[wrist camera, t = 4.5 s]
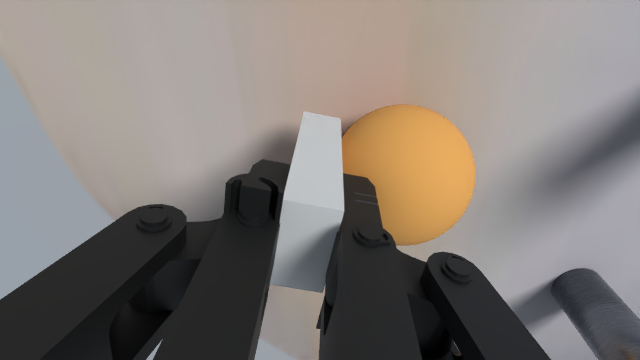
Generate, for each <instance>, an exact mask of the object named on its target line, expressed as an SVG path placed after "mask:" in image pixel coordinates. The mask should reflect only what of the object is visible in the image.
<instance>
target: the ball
mask: <svg viewBox="0 0 640 360" xmlns="http://www.w3.org/2000/svg"><path fill="white" fill-rule="evenodd" d="M342 163H343V173H345V174H350V175H356V176H361V177H367V178H368V179H369V180H370V181H371V183H372V184H373V185H374V186H375V190H376V195H377V196H376V197H377V200H378V205H379V210H380V215H381V220H382V225H383V228H384V229H385V230H386V231H387V232H389V233H390V234H391V235H392V237H393V239H394V241H395V244H396V245H415V244H420V243H424V242H427V241H429V240H432V239H434V238H436V237H438V236H440V235H442V234H443V233H445V232H446V231H447V230H449V229H450V228H451V227H452V226H453V225H454V224H455V223H456V222H457V221H458V220H459V219H460V218H461V216H462V215H463V214H464V212H465V210H466V209H467V207H468V205H469V203H470V200H471V198H472V195H473V191H474V186H475V176H476V174H475V163H474V159H473V155H472V152H471V149H470V147H469V145H468V143H467V141H466V139H465V138H464V136H463V135H462V133H461V132H460V131H459V130H458V129H457V128H456V127H455V126H454V124H453V123H451V122H450V121H449V120H448V119H446V118H445V117H444V116H442V115H440V114H438V113H437V112H435V111H432V110H430V109H427V108H424V107H420V106H414V105H392V106H387V107H383V108H380V109H377V110H375V111H372V112H370V113H368V114H367V115H365V116H363V117H362V118H360V119H359V120H358V121H356V122H355V123H354V124H353V125H352V126H351V127H350V128H349V129H348V130H347V132H346V133H345V134H344V136H343V137H342Z"/></svg>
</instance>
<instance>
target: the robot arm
mask: <svg viewBox="0 0 640 360" xmlns="http://www.w3.org/2000/svg"><path fill="white" fill-rule="evenodd" d="M376 196H377V195H376V190H375V186H374V185H373V184H372V183H371V181H370V180H369V179H368V178H367V177H361V176H356V175H350V174H345V173H343V163H342V138H341V119H340V118H335V117H330V116H325V115H320V114H315V113H309V112H304V114H303V118H302V122H301V126H300V130H299V134H298V138H297V143H296V147H295V151H294V155H293V159H292V163H291V165H290V164H284V163H279V162H273V161H268V160H263V159H262V160H261V161H259V162H258V163H256V164H254V165H253V166H252V169H251V171H250V173H249V174H241V175H237V176H235V177H232V178H230V179H229V180H228V181H227V182H226V190H225V205H224V214H223V216H222V218H219V219H216V220H212V221H204V222H186V216H185V214H184V213H183V212H182V211H181V210H179V209H177V208H175V207H173V206H168V205H163V204H154V205H146V206H142V207H138V208H136V209H134V210H132V211H130V212H128V213H126V214H125V215H123V216H122V217H120V218H119V219H117V220H116V221H115V222H113V223H112V224H110V225H109V226H107V227H106V228H104V229H103V230H102V231H100V232H98V233H97V234H96V235H94V236H93V237H91V238H90V239H88V240H87V241H85V242H84V243H82V244H81V245H80V246H78V247H77V248H75V249H74V250H72V251H71V252H69V253H68V254H66V255H65V256H63V257H62V258H61V259H59V260H58V261H56V262H55V263H53V264H52V265H50V266H49V267H47V268H46V269H44V270H43V271H42V272H40V273H39V274H37V275H36V276H34V277H33V278H31V279H30V280H28V281H27V282H26V283H24V284H23V285H21V286H20V287H18V288H17V289H15V290H14V291H12V292H11V293H10V294H8V295H7V296H5V297H4V298H2V299H1V300H0V360H146V359H147V358H148V356H149V355H150V354H151V352H152V351H153V350H154V349H155V347H156V346H157V345H158V344H159V343H160V341H161V340H162V339H163V340H162V342H161V344H160V346H159V348H158V350H157V352H156V354H155V356H154V358H153V360H254V357H255V353H256V349H257V344H258V339H259V335H260V330H261V325H262V321H263V316H264V311H265V307H266V302H267V297H268V290H269V285H270V284H272V285H278V286H284V287H290V288H296V289H302V290H308V291H314V292H321V293H323V290H324V286H325V297H324V300H323V304H322V308H321V312H320V315H319V319H318V323H317V326H316V328H317V329H320V349H319V360H551V359H550V358H549V357H548V355H547V354H546V353H545V352H544V350H543V349H542V348H541V346H540V345H539V344H538V343H537V341H536V340H535V339H534V338H533V336H532V335H531V334H530V333H529V331H528V330H527V329H526V328H525V326H524V325H523V324H522V322H521V321H520V320H519V319H518V317H517V316H516V315H515V314H514V312H513V311H512V310H511V309H510V307H509V306H508V305H507V304H506V302H505V301H504V300H503V299H502V297H501V296H500V295H499V293H498V292H497V291H496V290H495V288H494V287H493V286H492V285H491V283H490V282H489V281H488V280H487V278H486V277H485V276H484V275H483V273H482V272H481V271H480V270H479V269H478V268H477V267H476V266H475V265H474V264H473V263H471V262H470V261H468V260H466V259H465V258H463V257H461V256H458V255H456V254H453V253H447V252H438V253H434V254H432V255H431V256H430V257H429V258H428V260H427V262H424V261H421V260H418V259H416V258H413V257H411V256H409V255H407V254H404V253H402V252H401V251H399V250H398V249H397V248H396V244H395V241H394V239H393V237H392V235H391V234H390V233H389V232H387V231H386V230H385V229H384V228H383V225H382V220H381V215H380V210H379V205H378V200H377V197H376ZM325 282H326V285H325ZM454 342H455V344H456V345H455V344H454ZM456 346H457V347H458V349H459V350H458V349H457V347H456ZM459 351H460V352H459Z"/></svg>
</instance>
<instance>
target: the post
mask: <svg viewBox="0 0 640 360" xmlns="http://www.w3.org/2000/svg"><path fill="white" fill-rule="evenodd" d="M551 291H552V295H553V296H554V298H555V299H556V301H557V302H558V303H559V305H560V306H561V308H562V309H563V311H564V312H565V313H566V315H567V316H568V318H569V319H570V320H571V322H572V323H573V325H574V326H575V328H576V329H577V330H578V332H579V333H580V335H581V336H582V337H583V339H584V340H585V342H586V343H587V345H588V346H589V347H590V349H591V350H592V352H593V353H594V354H595V356H596V357H597V359H598V360H640V319H639V318H638V317H637V316H636V315H635V314H634V313H633V312H632V310H631V309H630V308H629V307H628V306H627V305H626V304H625V303H624V302H623V301H622V299H621V298H620V297H619V296H618V295H617V294H616V293H615V292H614V291H613V290H612V289H611V287H610V286H609V285H608V284H607V283H606V282H605V281H604V280H603V279H602V278H601V277H600V275H599V274H598V273H597V272H595V271H593V270H590V269H575V270H571V271H569V272H566V273H564V274H563V275H561V276H560V277H559V278H557V280H556V281H555V282H554V283H553V285H552V289H551Z"/></svg>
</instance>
